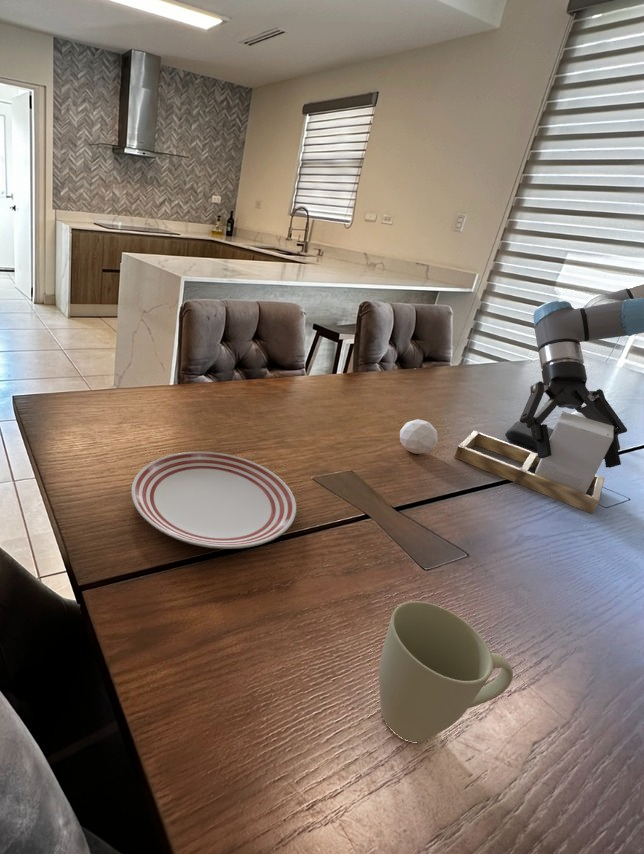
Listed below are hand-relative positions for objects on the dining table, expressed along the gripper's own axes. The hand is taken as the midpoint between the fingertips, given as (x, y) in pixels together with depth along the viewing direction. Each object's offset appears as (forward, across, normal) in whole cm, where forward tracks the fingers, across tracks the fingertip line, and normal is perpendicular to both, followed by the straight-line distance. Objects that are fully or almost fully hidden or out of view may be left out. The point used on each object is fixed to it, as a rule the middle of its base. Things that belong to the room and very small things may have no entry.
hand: (579, 461), depth 95 cm
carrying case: (-12, -8, -23) cm, 27 cm away
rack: (+1, +5, -10) cm, 11 cm away
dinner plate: (+21, +73, +10) cm, 77 cm away
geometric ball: (-1, +28, -12) cm, 30 cm away
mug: (+44, +50, +33) cm, 74 cm away
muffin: (-20, -26, -31) cm, 44 cm away
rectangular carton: (+4, 0, -7) cm, 8 cm away
